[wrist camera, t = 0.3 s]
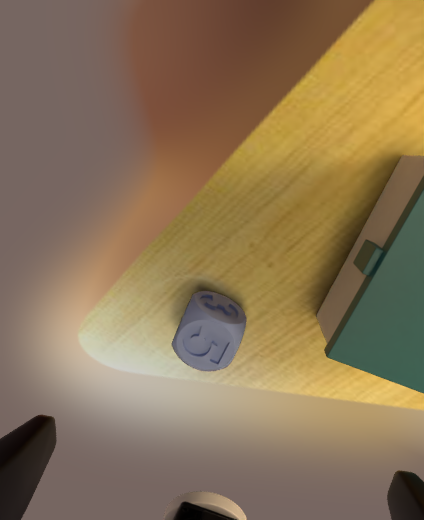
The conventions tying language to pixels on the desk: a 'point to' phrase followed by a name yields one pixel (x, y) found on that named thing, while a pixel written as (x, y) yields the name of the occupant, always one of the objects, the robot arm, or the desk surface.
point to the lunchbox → (383, 286)
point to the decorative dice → (209, 331)
